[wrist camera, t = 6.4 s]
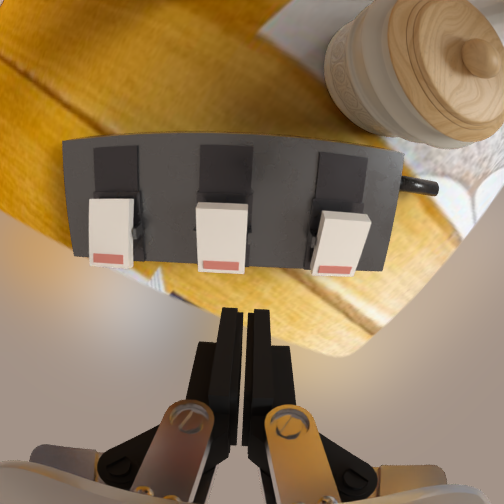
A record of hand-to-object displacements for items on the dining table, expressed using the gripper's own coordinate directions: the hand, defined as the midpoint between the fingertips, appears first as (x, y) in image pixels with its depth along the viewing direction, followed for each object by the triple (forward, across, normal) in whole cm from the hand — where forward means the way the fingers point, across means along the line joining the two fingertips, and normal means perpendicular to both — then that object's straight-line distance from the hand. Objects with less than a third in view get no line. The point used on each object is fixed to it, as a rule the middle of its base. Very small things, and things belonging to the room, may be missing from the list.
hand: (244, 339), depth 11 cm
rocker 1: (+15, +12, +2) cm, 20 cm away
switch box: (+22, 0, 0) cm, 22 cm away
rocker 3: (+15, -8, +2) cm, 17 cm away
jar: (+23, -12, -14) cm, 30 cm away
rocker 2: (+15, +2, +2) cm, 16 cm away
